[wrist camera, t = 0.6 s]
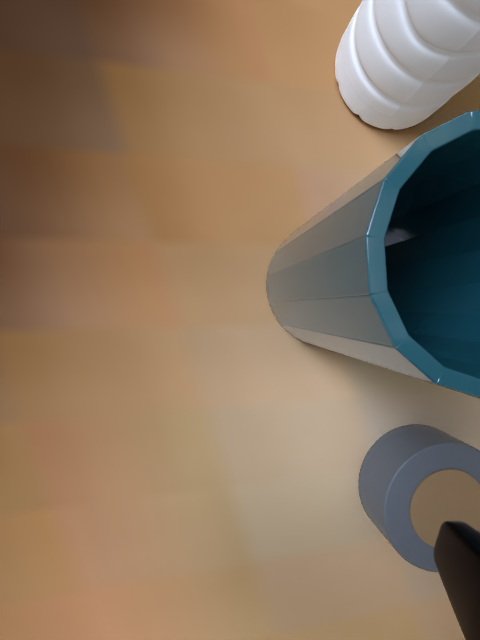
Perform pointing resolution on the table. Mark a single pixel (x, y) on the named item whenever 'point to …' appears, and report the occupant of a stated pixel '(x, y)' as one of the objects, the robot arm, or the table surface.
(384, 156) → the table surface
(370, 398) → the table surface
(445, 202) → the pen pot
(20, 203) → the table surface
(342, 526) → the table surface
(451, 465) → the tape roll
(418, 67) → the water bottle
